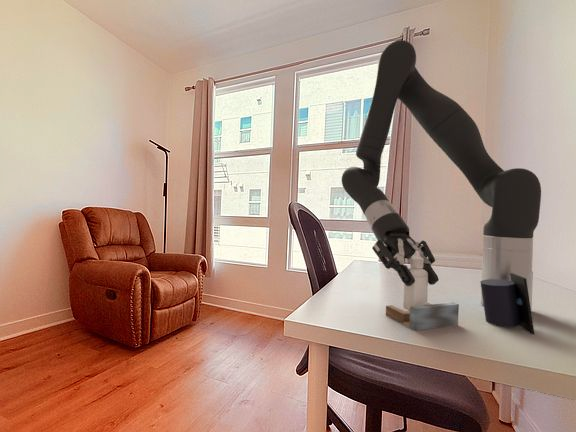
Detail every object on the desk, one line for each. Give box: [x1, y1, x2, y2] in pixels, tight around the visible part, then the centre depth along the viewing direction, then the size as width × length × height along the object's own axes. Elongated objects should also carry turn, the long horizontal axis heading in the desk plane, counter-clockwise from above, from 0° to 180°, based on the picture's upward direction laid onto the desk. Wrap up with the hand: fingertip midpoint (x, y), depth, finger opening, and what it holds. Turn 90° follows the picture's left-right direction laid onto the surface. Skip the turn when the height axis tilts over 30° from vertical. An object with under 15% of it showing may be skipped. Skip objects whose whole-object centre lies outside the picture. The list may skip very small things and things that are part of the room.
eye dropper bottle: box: [402, 251, 429, 311], centre depth 55 cm, size 4×6×12 cm
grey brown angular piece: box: [385, 302, 460, 331], centre depth 53 cm, size 11×8×4 cm
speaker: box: [480, 273, 535, 336], centre depth 53 cm, size 8×6×10 cm
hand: (423, 283), depth 53 cm, fingers closed on eye dropper bottle, 5 cm apart
